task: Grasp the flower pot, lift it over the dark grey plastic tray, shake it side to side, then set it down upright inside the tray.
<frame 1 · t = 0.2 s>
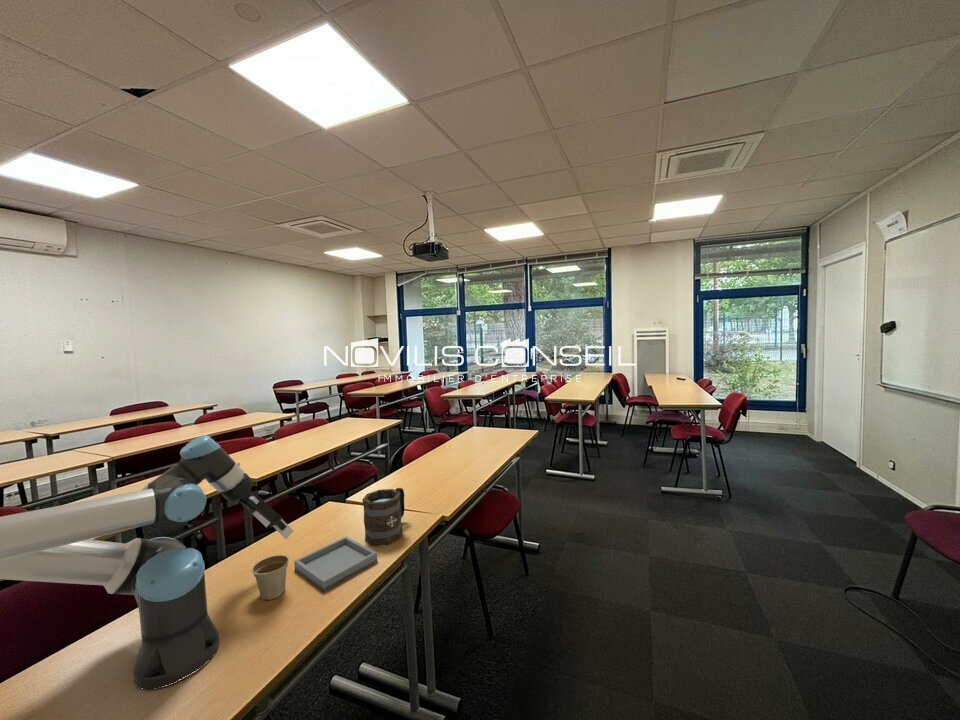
hand: (279, 528, 115), 15 cm above the table, tool tilted 30°, fingers open, 13 cm apart
mug: (389, 532, 140), on the table
tray: (336, 565, 120), on the table
flower pot: (272, 593, 108), on the table
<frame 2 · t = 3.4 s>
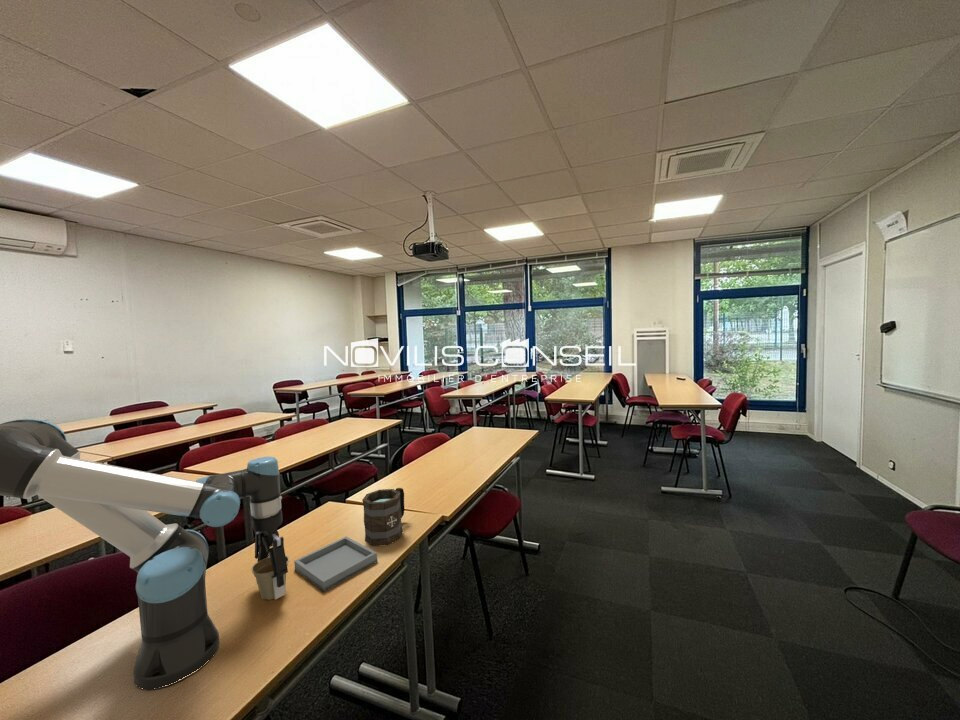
hand: (272, 589, 108), 1 cm above the table, tool pointing down, fingers closed on flower pot, 9 cm apart
flower pot: (273, 593, 108), on the table, touching gripper
everything else where it was.
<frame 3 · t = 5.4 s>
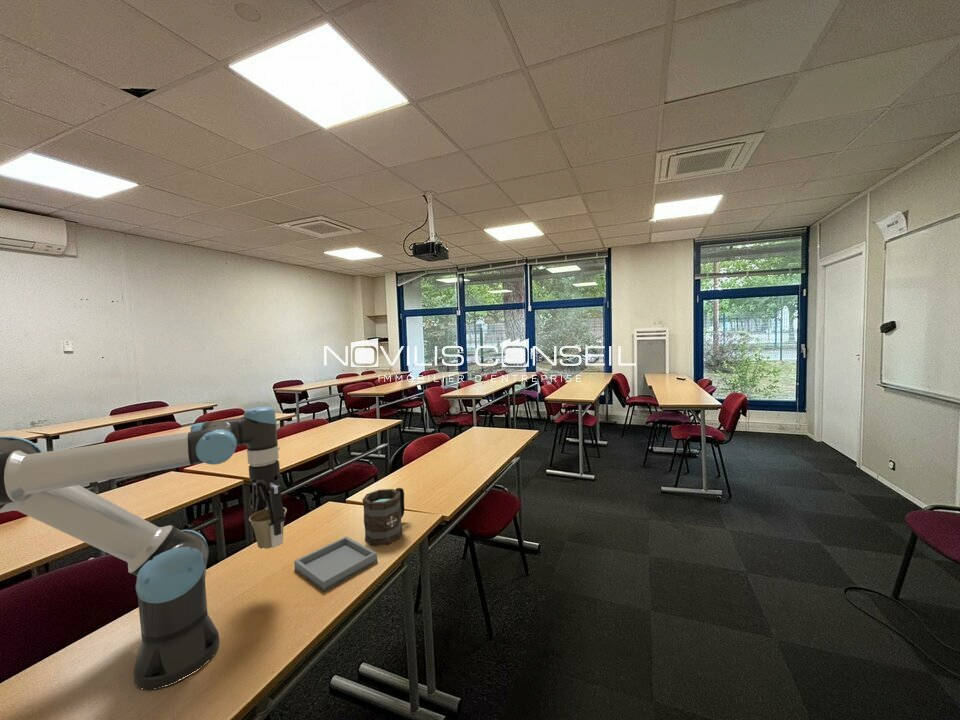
hand: (270, 540, 107), 15 cm above the table, tool pointing down, fingers closed on flower pot, 9 cm apart
flower pot: (270, 544, 108), point 14 cm above the table, touching gripper
everything else where it was.
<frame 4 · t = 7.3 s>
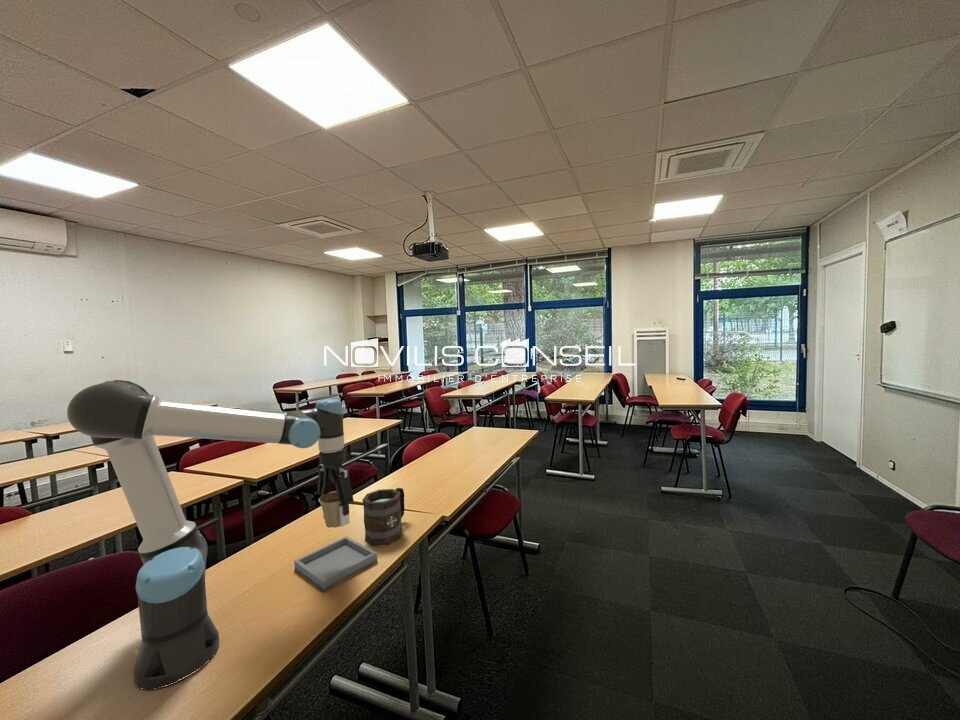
hand: (336, 520, 118), 15 cm above the table, tool pointing down, fingers closed on flower pot, 9 cm apart
flower pot: (336, 524, 118), point 14 cm above the table, touching gripper
everything else where it was.
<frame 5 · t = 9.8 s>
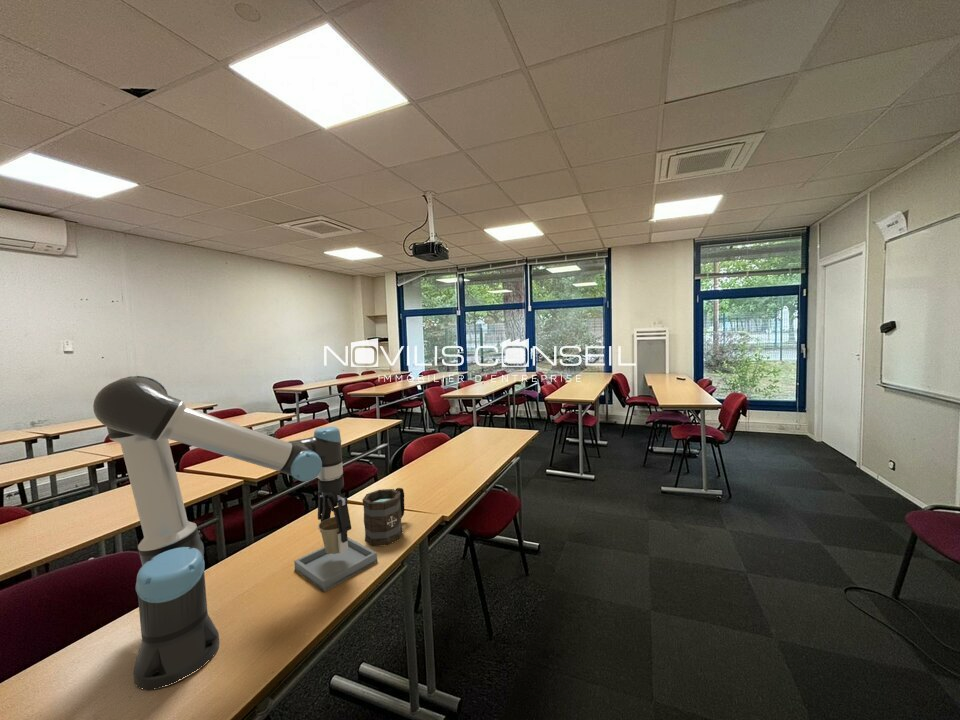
hand: (335, 546, 120), 6 cm above the table, tool pointing down, fingers closed on flower pot, 9 cm apart
flower pot: (335, 549, 120), point 5 cm above the table, touching gripper
everything else where it was.
when the fingers open (3 cm above the table, at t = 11.3 s): flower pot drops 1 cm, resting on tray.
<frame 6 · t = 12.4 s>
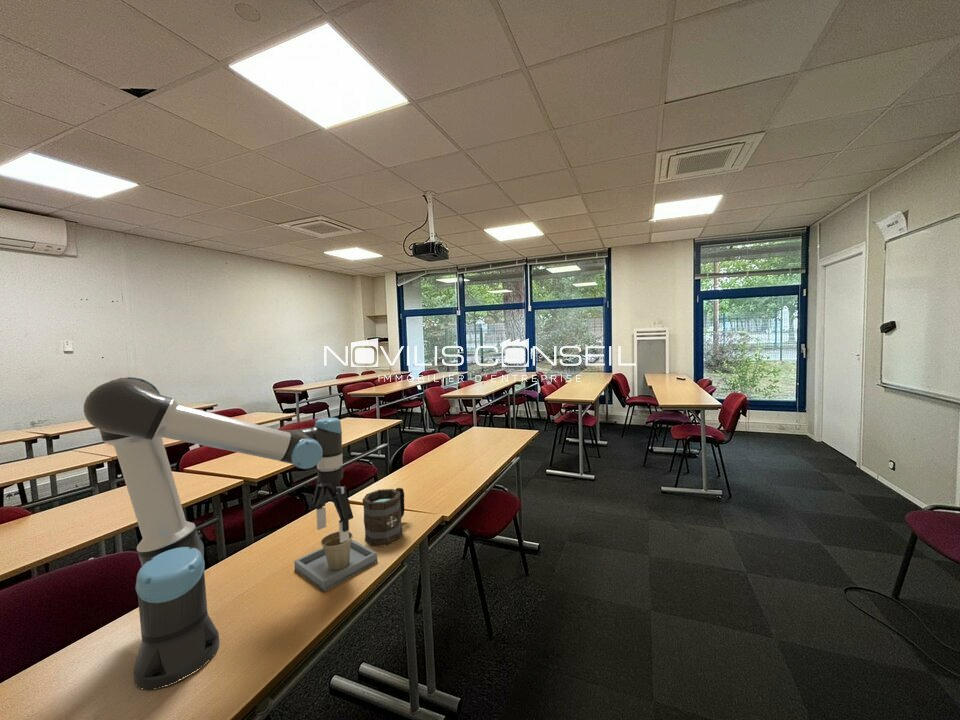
hand: (332, 534, 119), 10 cm above the table, tool pointing down, fingers open, 13 cm apart
flower pot: (338, 565, 119), point 1 cm above the table, touching tray
everything else where it was.
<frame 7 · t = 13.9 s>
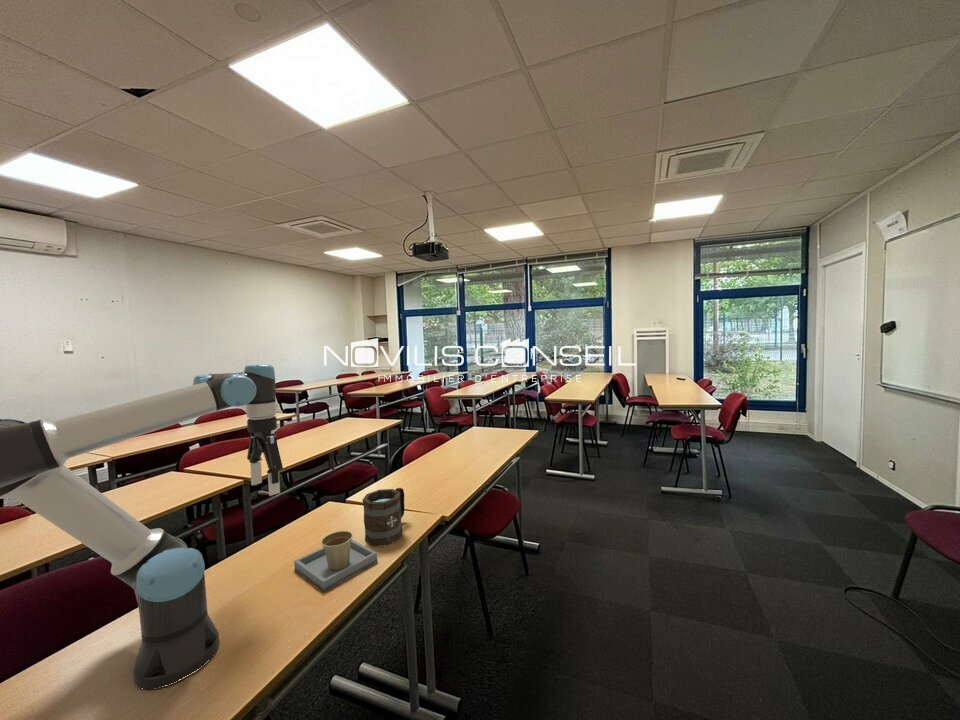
hand: (265, 488, 111), 29 cm above the table, tool pointing down, fingers open, 13 cm apart
nothing on the table moved.
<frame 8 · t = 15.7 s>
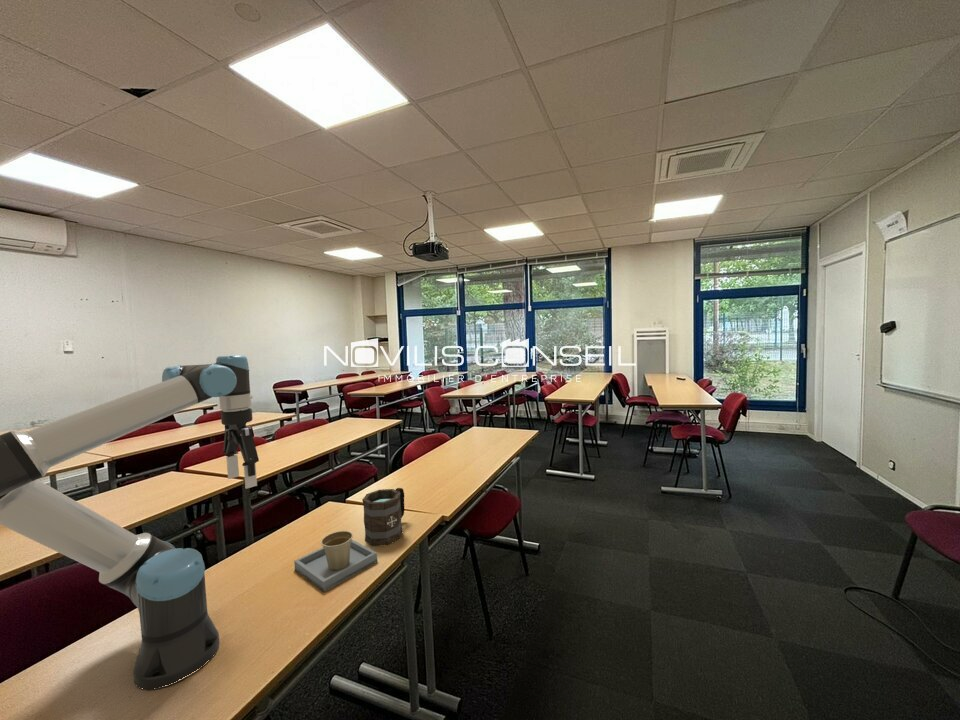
hand: (242, 482, 109), 32 cm above the table, tool pointing down, fingers open, 13 cm apart
nothing on the table moved.
at the end: flower pot inside the target area on the tray (1.7 cm from its centre), point 0.8 cm above the tray's base; flower pot tilted 0°; the gripper is holding nothing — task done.
